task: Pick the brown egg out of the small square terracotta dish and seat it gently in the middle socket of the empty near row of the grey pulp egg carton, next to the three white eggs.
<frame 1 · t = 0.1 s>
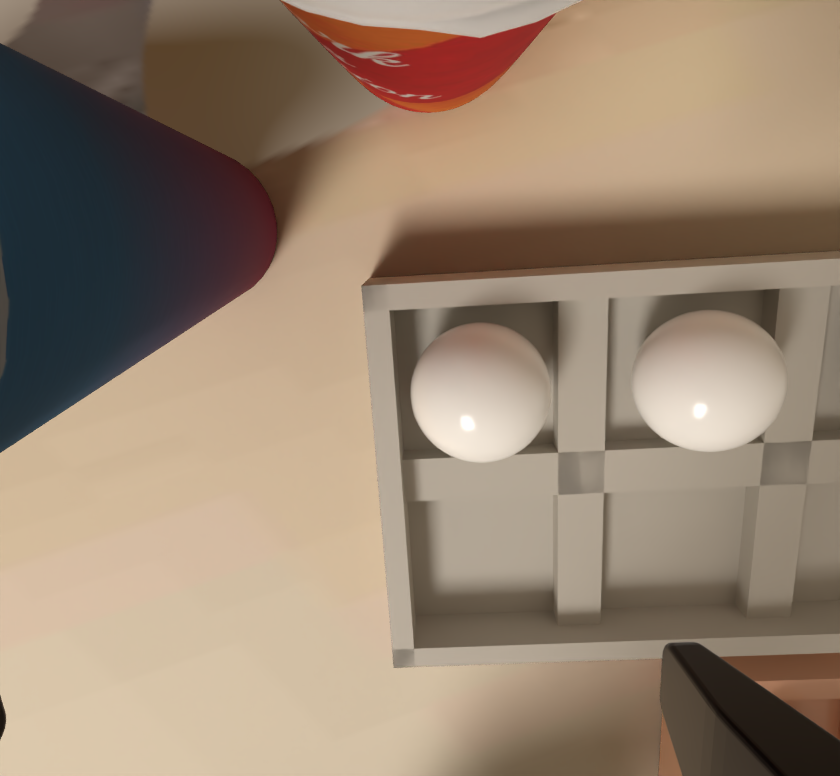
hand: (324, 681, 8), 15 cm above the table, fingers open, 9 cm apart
egg dish: (748, 712, 26), on the table
white egg 3: (475, 374, 21), point 1 cm above the table, touching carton
coffee cup: (429, 13, 19), on the table
cup: (206, 227, 21), on the table
white egg 2: (678, 364, 21), point 1 cm above the table, touching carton
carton: (666, 452, 23), on the table
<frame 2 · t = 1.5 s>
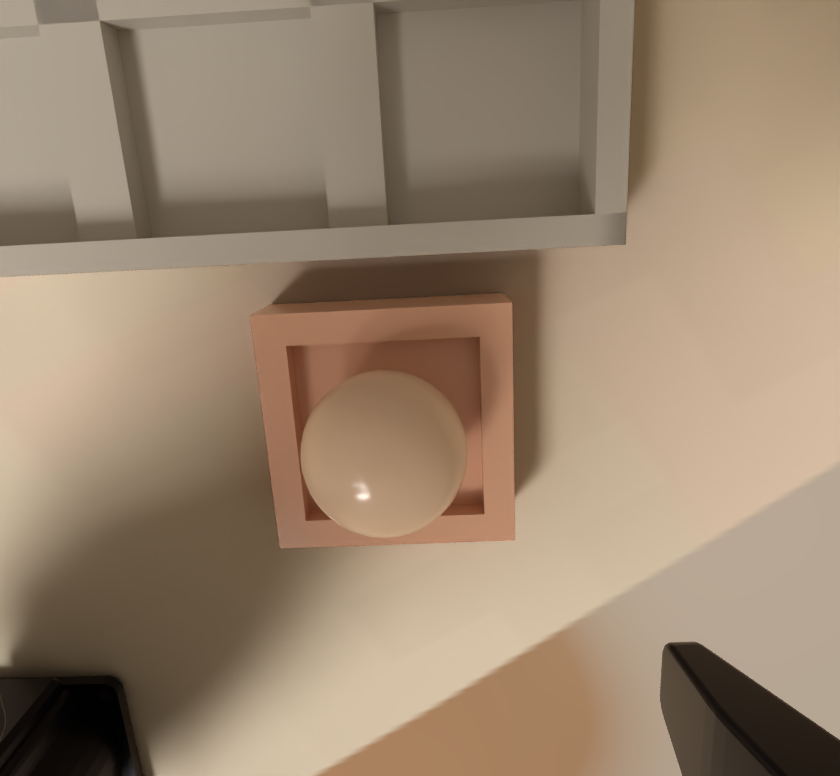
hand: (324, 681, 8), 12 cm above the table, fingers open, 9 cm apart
egg dish: (393, 410, 20), on the table
brown egg: (390, 425, 18), point 1 cm above the table, touching egg dish
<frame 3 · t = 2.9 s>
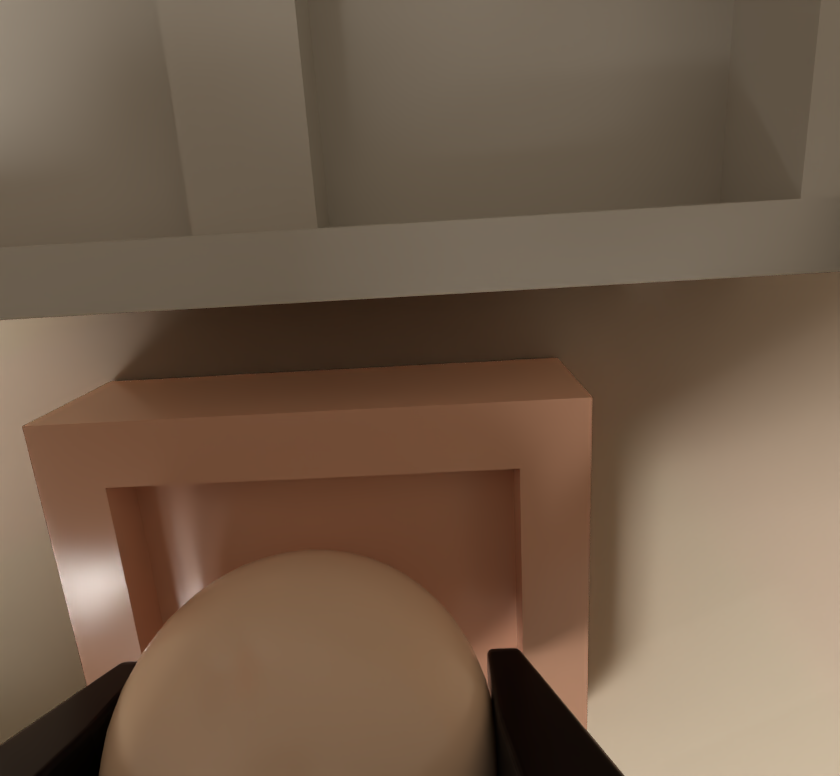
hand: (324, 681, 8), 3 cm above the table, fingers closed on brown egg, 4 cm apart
egg dish: (351, 568, 11), on the table
brown egg: (338, 622, 9), point 1 cm above the table, touching egg dish, gripper
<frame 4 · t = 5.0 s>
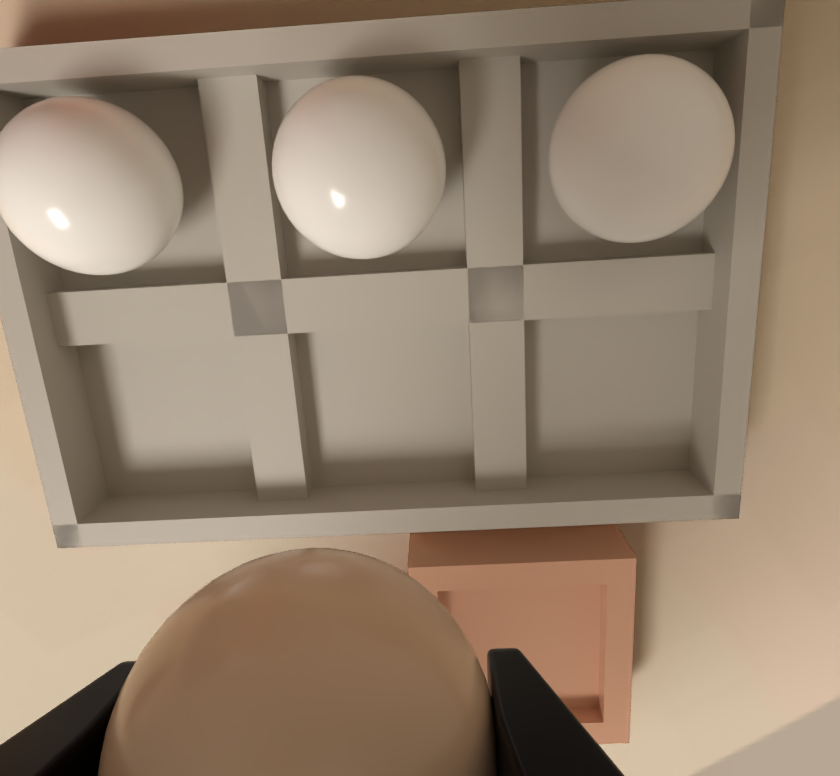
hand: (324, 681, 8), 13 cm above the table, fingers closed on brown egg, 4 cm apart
white egg 1: (612, 161, 17), point 1 cm above the table, touching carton
egg dish: (514, 616, 22), on the table
white egg 3: (133, 192, 18), point 1 cm above the table, touching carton
white egg 2: (369, 177, 18), point 1 cm above the table, touching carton
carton: (380, 295, 19), on the table
brown egg: (338, 621, 9), point 11 cm above the table, touching gripper
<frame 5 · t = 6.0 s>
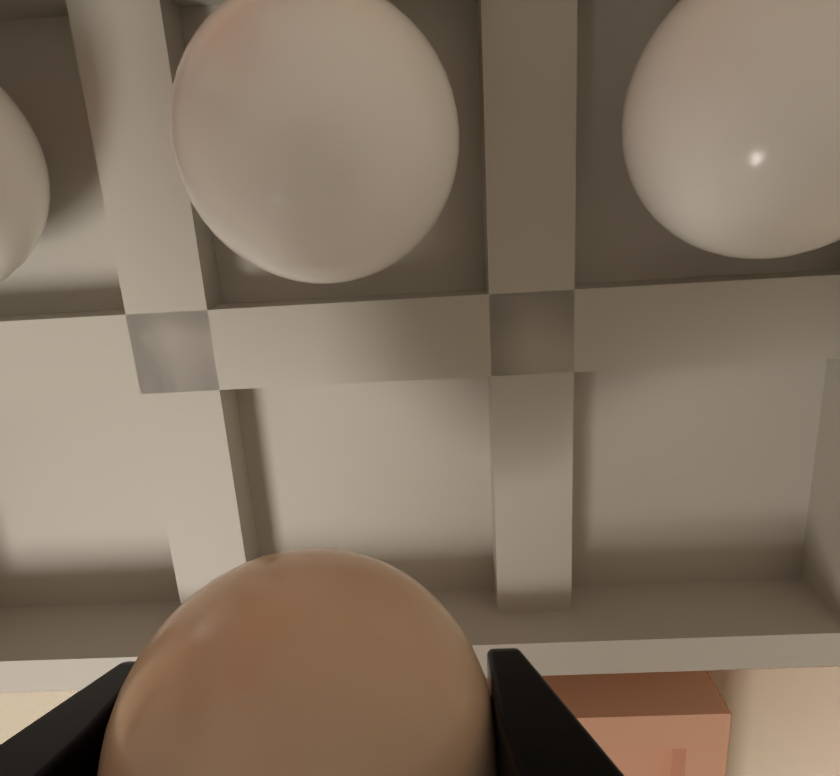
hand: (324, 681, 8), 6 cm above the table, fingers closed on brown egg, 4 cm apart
white egg 1: (709, 131, 11), point 1 cm above the table, touching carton
egg dish: (545, 762, 16), on the table
white egg 2: (340, 155, 12), point 1 cm above the table, touching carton
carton: (359, 329, 13), on the table
brown egg: (337, 621, 9), point 5 cm above the table, touching gripper
when the fingers open (3 cm above the table, at t = 7.0 s): brown egg drops 1 cm, resting on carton.
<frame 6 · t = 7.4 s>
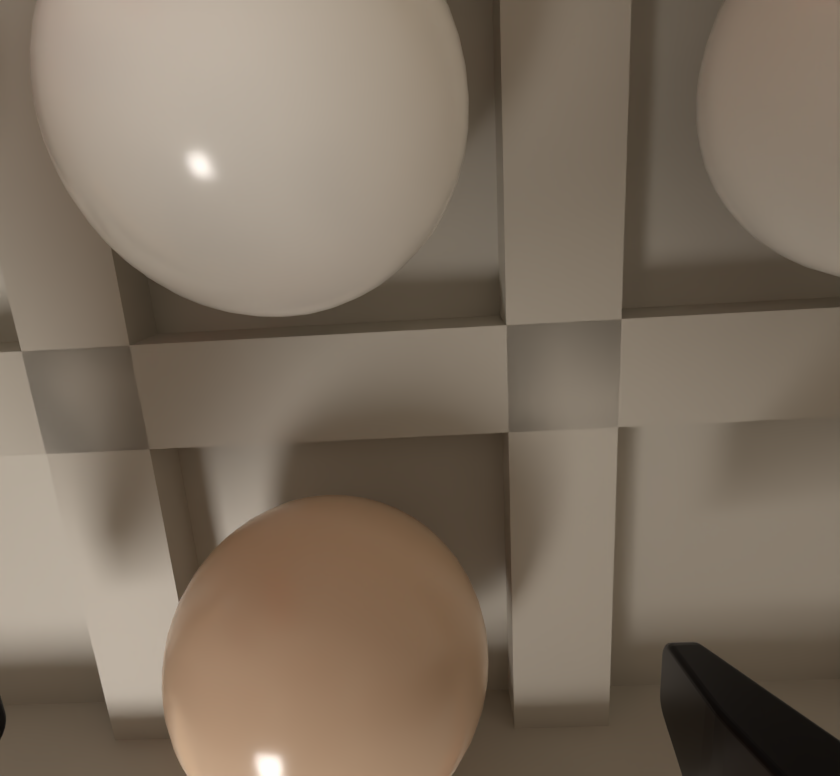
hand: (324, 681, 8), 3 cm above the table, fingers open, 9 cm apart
white egg 1: (803, 106, 9), point 1 cm above the table, touching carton
white egg 2: (307, 139, 9), point 1 cm above the table, touching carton
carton: (337, 365, 10), on the table
brown egg: (350, 566, 11), point 1 cm above the table, touching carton
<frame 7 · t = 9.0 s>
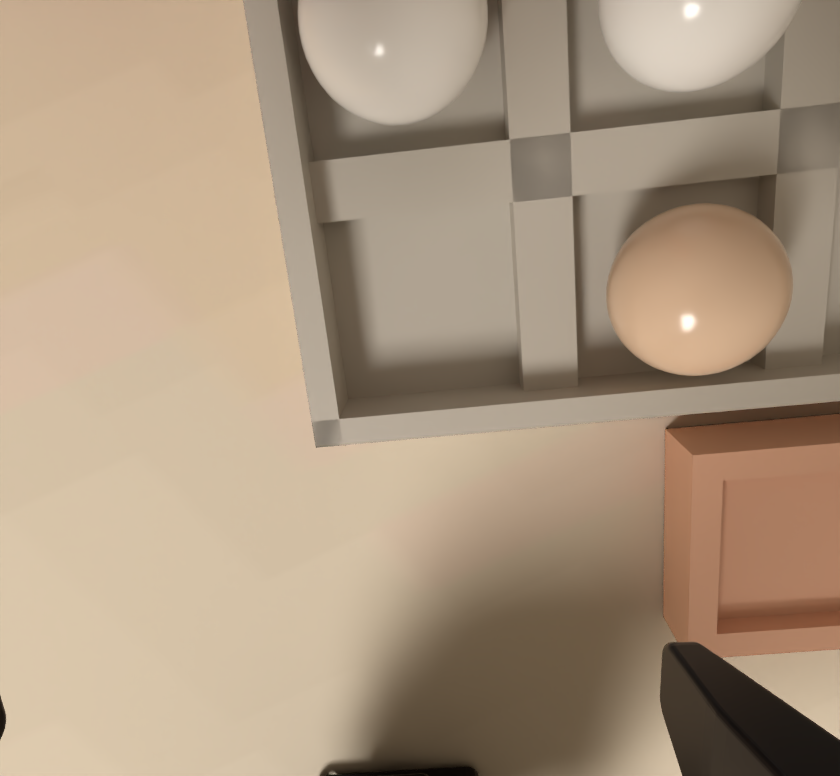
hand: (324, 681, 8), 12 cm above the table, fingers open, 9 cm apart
egg dish: (771, 518, 21), on the table
white egg 3: (398, 46, 16), point 1 cm above the table, touching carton
white egg 2: (663, 14, 16), point 1 cm above the table, touching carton
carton: (654, 157, 18), on the table
brown egg: (660, 282, 18), point 1 cm above the table, touching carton
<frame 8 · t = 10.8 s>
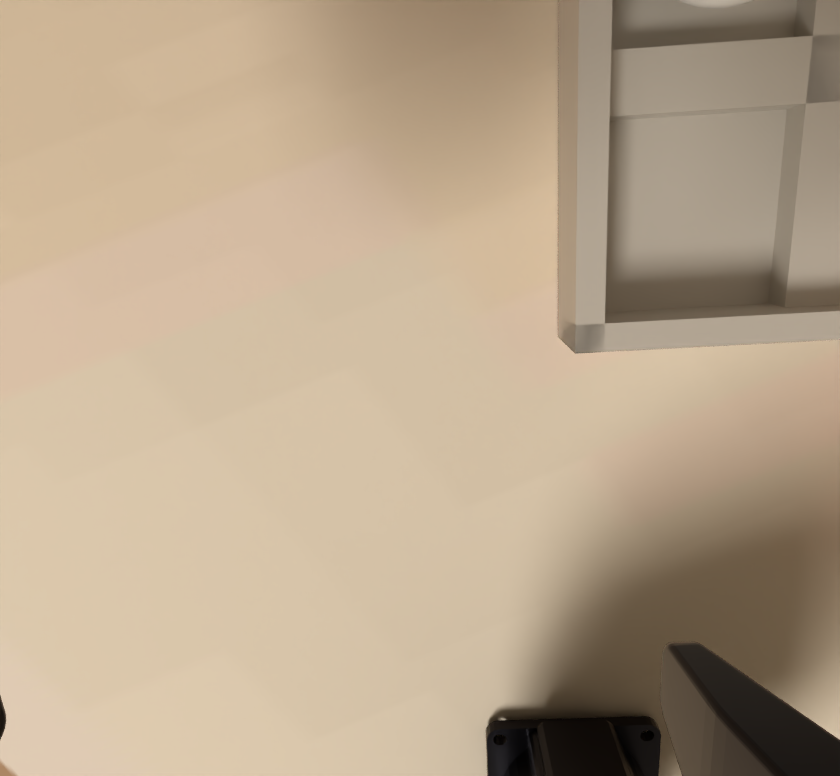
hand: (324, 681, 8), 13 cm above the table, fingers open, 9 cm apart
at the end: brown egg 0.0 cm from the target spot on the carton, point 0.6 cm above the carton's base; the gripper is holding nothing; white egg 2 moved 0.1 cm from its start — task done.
